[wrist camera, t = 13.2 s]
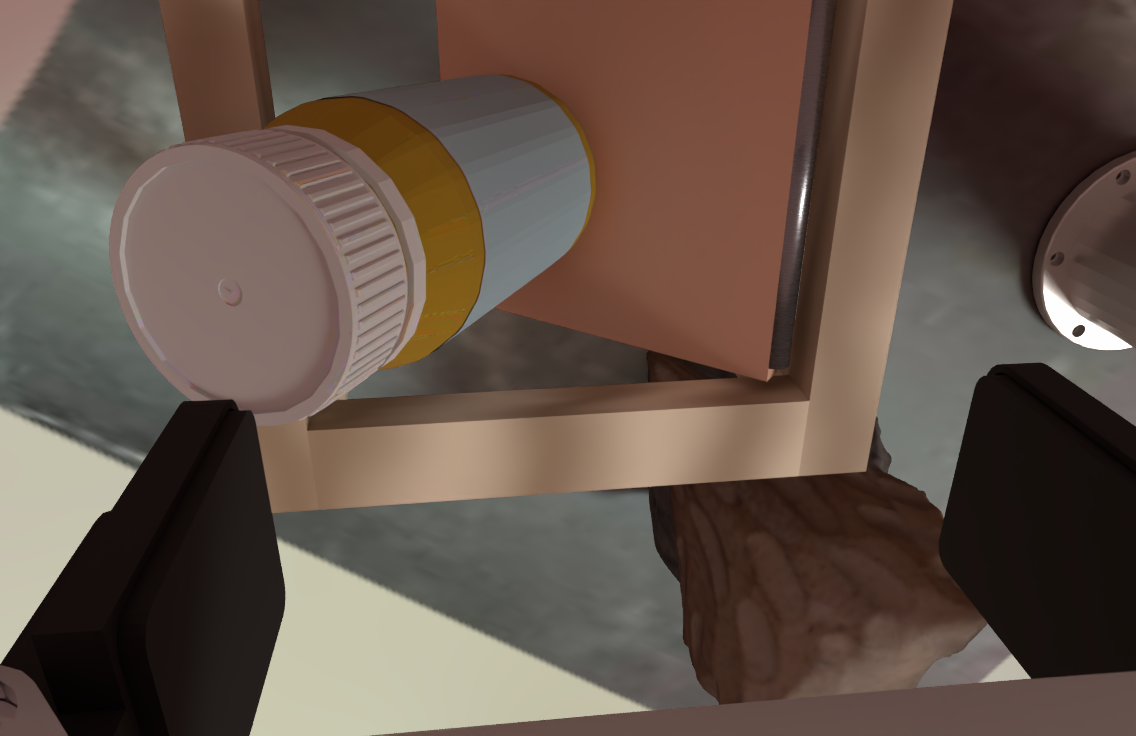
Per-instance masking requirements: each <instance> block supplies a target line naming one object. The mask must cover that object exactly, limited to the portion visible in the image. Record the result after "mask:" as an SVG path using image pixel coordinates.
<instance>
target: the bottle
mask: <svg viewBox="0 0 1136 736" xmlns="http://www.w3.org/2000/svg"><path fill="white" fill-rule="evenodd" d="M595 191H596V182H595V167H594V160H593V155H592V152H591V150H590V147H589V144H588V142H587V139H586V136H585V134H584V131H583V129H582V128H581V126H580V124H579V123H578V121H577V120H576V119H575V117H574V116H573V115H572V113H571V112H570V111H569V110H568V108H567V107H566V106H565V104H564V103H563V102H562V101H560V100H559V99H558V98H557V97H556V96H554V95H553V94H551V93H550V92H548V91H547V90H546V89H544V88H543V87H541V86H540V85H538V84H536V83H534V82H532V81H529V80H525V79H522V78H518V77H515V76H511V75H504V74H499V75H495V74H493V75H480V76H469V77H463V78H456V79H449V80H442V81H436V82H429V83H422V84H415V85H408V86H402V87H395V88H388V89H381V90H375V91H368V92H361V93H354V94H348V95H341V96H334V97H327V98H323V99H319V100H315V101H311V102H307V103H304V104H301V105H299V106H297V107H295V108H293V109H291V110H289V111H287V112H285V113H283V114H281V115H279V116H277V117H276V118H275V119H274V120H272V121H271V122H270V123H269V124H268V125H267V126H266V127H265V128H264V129H263V130H250V131H243V132H237V133H232V134H226V135H221V136H215V137H210V138H204V139H199V140H193V141H187V142H183V143H182V144H177V145H173V146H170V147H169V149H167V150H162V151H160V152H159V153H158V154H157V155H155V156H153V157H152V158H150V159H149V160H147V161H146V162H144V163H143V164H142V165H141V166H140V167H139V168H138V169H137V170H136V171H135V172H134V173H133V174H132V175H131V177H130V178H129V179H128V181H127V182H126V184H125V185H124V187H123V189H122V191H121V193H120V195H119V197H118V199H117V202H116V205H115V208H114V211H113V215H112V220H111V226H110V236H109V255H110V266H111V273H112V278H113V283H114V287H115V291H116V294H117V297H118V300H119V303H120V306H121V309H122V311H123V314H124V316H125V318H126V321H127V323H128V325H129V327H130V329H131V331H132V333H133V334H134V336H135V338H136V340H137V341H138V343H139V345H140V346H141V348H142V349H143V351H144V352H145V353H146V355H147V356H148V358H149V359H150V360H151V362H152V363H153V364H154V365H155V367H156V368H157V369H158V370H159V371H160V372H161V373H162V375H163V376H164V377H165V378H166V379H167V380H168V381H169V382H170V383H171V384H172V385H173V386H175V387H176V388H177V389H178V390H179V391H180V392H182V393H183V394H184V395H185V396H187V397H188V398H189V399H191V400H192V401H205V400H227V399H233V400H234V401H235V402H236V404H237V407H238V409H239V411H240V410H251V411H252V412H253V415H254V417H255V421H256V426H276V425H283V424H287V423H292V422H294V421H297V420H303V419H305V418H306V417H307V416H312V415H314V414H316V413H317V412H319V411H320V410H322V409H324V408H325V407H327V406H328V405H330V404H331V403H333V402H334V401H335V400H337V399H338V398H340V397H341V396H343V395H344V394H346V393H347V392H348V391H350V390H351V389H353V388H354V387H356V386H357V385H358V384H360V383H361V382H363V381H364V380H366V379H367V378H368V377H369V376H370V375H372V374H373V373H374V372H376V371H377V370H378V369H389V368H395V367H399V366H402V365H405V364H408V363H412V362H415V361H418V360H420V359H422V358H424V357H425V356H427V355H428V354H430V353H432V352H434V351H435V350H437V349H439V348H440V347H441V346H443V345H444V344H445V343H447V342H448V341H449V340H451V339H452V338H453V337H455V336H456V335H458V334H459V333H460V332H462V331H463V330H464V329H466V328H467V327H468V326H470V325H471V324H472V323H474V322H475V321H477V320H478V319H479V318H481V317H482V316H483V315H485V314H486V313H487V312H489V311H490V310H491V309H493V308H494V307H495V306H497V305H498V304H500V303H501V302H502V301H504V300H505V299H506V298H508V297H509V296H510V295H512V294H513V293H514V292H516V291H517V290H519V289H520V288H521V287H523V286H524V285H525V284H527V283H528V282H529V281H531V280H532V279H533V278H535V277H536V276H537V275H539V274H540V273H542V272H543V271H544V270H546V269H547V268H548V267H550V266H551V265H552V264H553V263H555V262H556V261H557V260H558V259H560V258H561V257H562V256H563V255H565V254H566V252H567V251H568V250H570V249H571V248H572V247H573V245H574V244H575V243H576V242H577V240H578V238H579V237H580V235H581V234H582V232H583V230H584V229H585V227H586V225H587V223H588V221H589V218H590V215H591V211H592V207H593V202H594V198H595Z"/></svg>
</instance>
